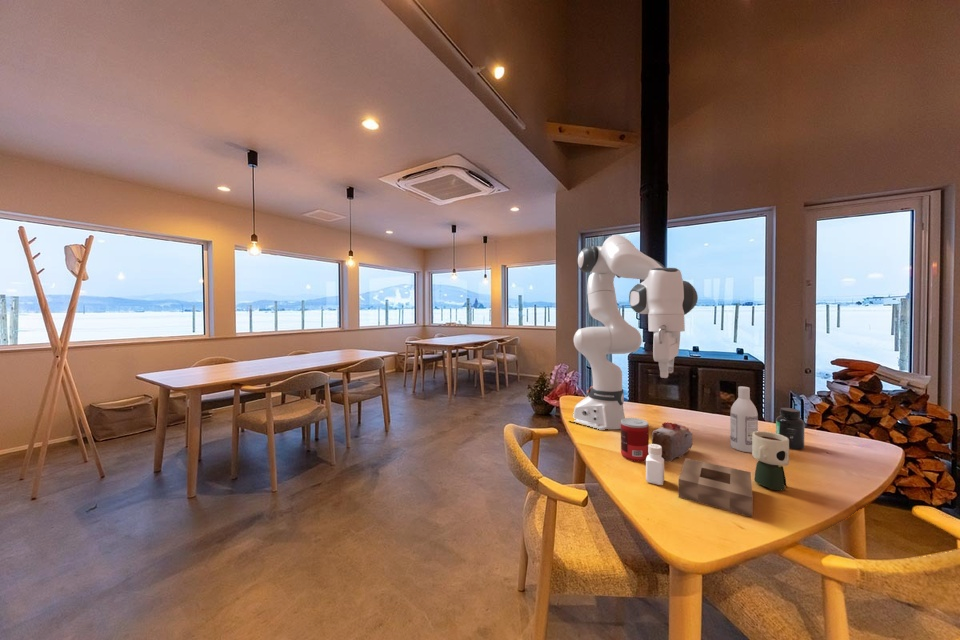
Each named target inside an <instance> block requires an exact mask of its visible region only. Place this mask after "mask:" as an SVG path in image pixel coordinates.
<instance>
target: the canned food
mask: <svg viewBox="0 0 960 640" xmlns="http://www.w3.org/2000/svg"><path fill="white" fill-rule="evenodd" d="M649 425H650V424H649V421H647V420H645V419H642V418H637V417H625V419H622V420H621V429H620V452H621V456H622V457H623V458H624V459H625V460H628V461H631V462H636V463H637V462H646V458H647V456H648V455H649V453H648V445H649V444H650V442H649V440H650V437H649V436H650V431H649V430H650V429H649V427H650V426H649Z"/></svg>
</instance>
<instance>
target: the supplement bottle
mask: <svg viewBox="0 0 960 640" xmlns="http://www.w3.org/2000/svg"><path fill="white" fill-rule="evenodd" d="M775 433H777V434H780V435H783V436H785V437H787V438H788V439H789V450H792V451H793V450H794V451H800V450H804V449H805V421H804V420H803V419H802V418H801V410H799V409H796V408H790V407H780V409H779V415H778V416H777V417H776V419H775Z"/></svg>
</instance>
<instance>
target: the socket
mask: <svg viewBox="0 0 960 640" xmlns="http://www.w3.org/2000/svg"><path fill="white" fill-rule="evenodd" d="M751 473H752V472H750V471H747V470H742V469H737V468H734V467H728V466H723V465H721V464H720V465H719V464H715V463H710V462H706V461H705V462H704V461H700V460H696V459H692V458H686V457H685V458H684V461H683V465H682V468H681V471H680V473H679V476H678V498H680V499H684V500H688V501H692V502H694V503H695V502H696V503H699V504H702V505H706V506H709V507H713V508H717V509H721V510H723V511H727V512H731V513H734V514H737V515H741V516H745V517H750V518H752V519H753V518H754V517H753V511H754V510H753V509H754V508H753V505H754V503H753V501H754V500H753V499H754V498H753V485H752V474H751Z"/></svg>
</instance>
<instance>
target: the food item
mask: <svg viewBox="0 0 960 640" xmlns="http://www.w3.org/2000/svg"><path fill="white" fill-rule="evenodd" d="M651 432H652V434H651V444H657V445H660V446H661V447H662V455H661V457H662V458H664V461H666V462H670V463H671V462H672V461H673V460H674V459H676V458H683V457H684V454H686V453H687V452H688V451H689V450H690V449H691V448H692V446H693V433H692V432H691V431H690V430H689V428H688V427H686V426H685V425H683V424H680V423H675V422H669V421H668V422H663V423H661V427H659V428H657V429H655V430H652V431H651Z"/></svg>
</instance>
